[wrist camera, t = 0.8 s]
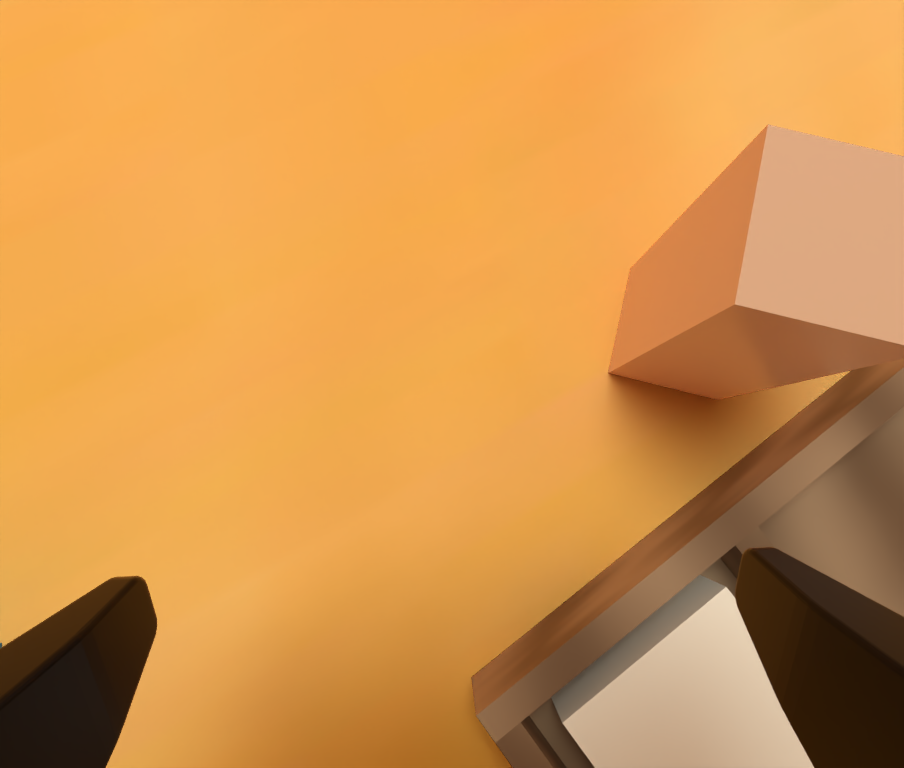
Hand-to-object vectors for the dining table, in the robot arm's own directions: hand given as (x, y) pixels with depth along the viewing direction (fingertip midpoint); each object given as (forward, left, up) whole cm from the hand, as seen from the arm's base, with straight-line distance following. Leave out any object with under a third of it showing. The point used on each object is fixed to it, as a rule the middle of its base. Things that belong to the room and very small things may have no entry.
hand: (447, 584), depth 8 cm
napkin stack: (-11, -3, -13) cm, 17 cm away
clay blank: (0, -12, -13) cm, 18 cm away
